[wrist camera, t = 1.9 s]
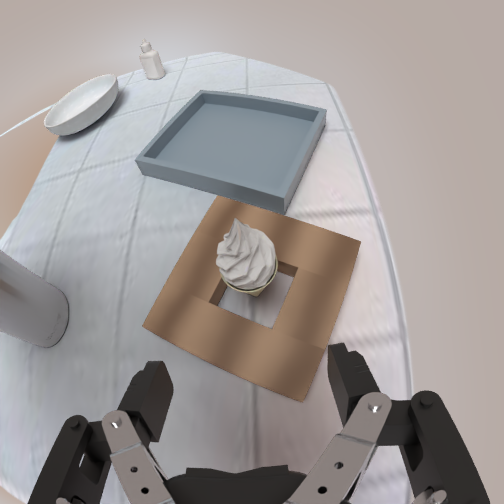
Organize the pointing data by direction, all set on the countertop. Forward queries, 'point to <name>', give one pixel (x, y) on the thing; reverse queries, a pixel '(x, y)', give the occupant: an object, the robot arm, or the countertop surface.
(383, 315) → the countertop surface
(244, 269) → the ice cream cone
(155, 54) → the eye dropper bottle
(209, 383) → the countertop surface
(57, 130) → the serving bowl
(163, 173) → the slate blue tray
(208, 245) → the walnut board
